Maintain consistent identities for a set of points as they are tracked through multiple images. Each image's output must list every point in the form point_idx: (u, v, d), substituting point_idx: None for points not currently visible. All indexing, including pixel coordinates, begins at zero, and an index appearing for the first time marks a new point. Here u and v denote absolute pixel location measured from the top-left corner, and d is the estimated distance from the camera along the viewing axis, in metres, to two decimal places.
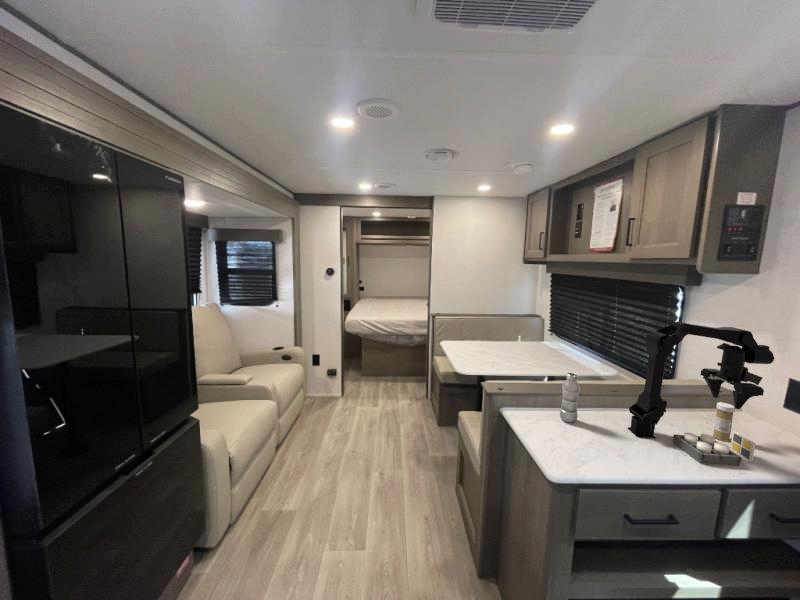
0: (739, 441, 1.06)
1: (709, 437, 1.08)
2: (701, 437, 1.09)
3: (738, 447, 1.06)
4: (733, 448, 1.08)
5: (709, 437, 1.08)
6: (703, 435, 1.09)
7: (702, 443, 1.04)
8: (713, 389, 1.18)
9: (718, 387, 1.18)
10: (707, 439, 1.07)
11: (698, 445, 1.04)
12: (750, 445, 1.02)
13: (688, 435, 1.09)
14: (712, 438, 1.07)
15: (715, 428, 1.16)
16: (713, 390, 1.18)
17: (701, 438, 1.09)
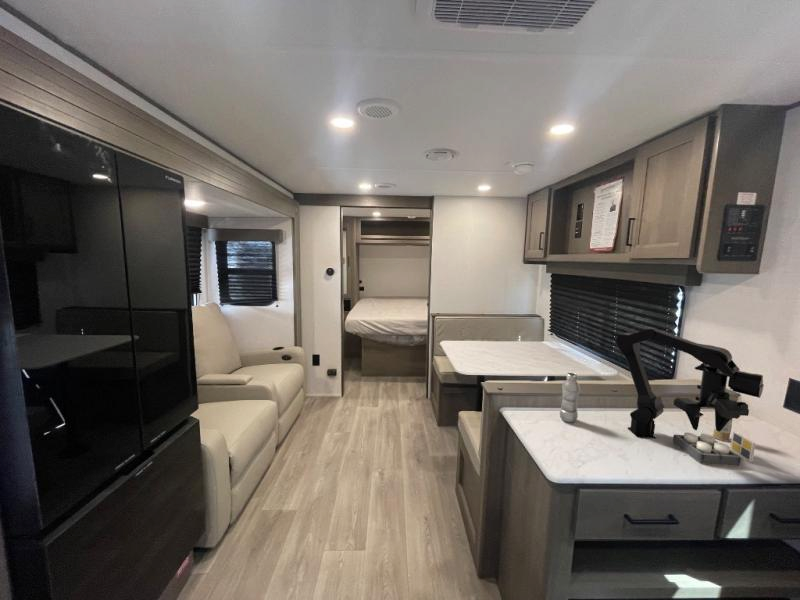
0: (739, 441, 1.06)
1: (709, 437, 1.08)
2: (701, 437, 1.09)
3: (738, 447, 1.06)
4: (733, 448, 1.08)
5: (709, 437, 1.08)
6: (703, 435, 1.09)
7: (702, 443, 1.04)
8: (718, 420, 1.03)
9: (722, 420, 1.02)
10: (707, 439, 1.07)
11: (698, 445, 1.04)
12: (750, 445, 1.02)
13: (688, 435, 1.09)
14: (712, 438, 1.07)
15: (715, 428, 1.16)
16: (717, 421, 1.04)
17: (701, 438, 1.09)
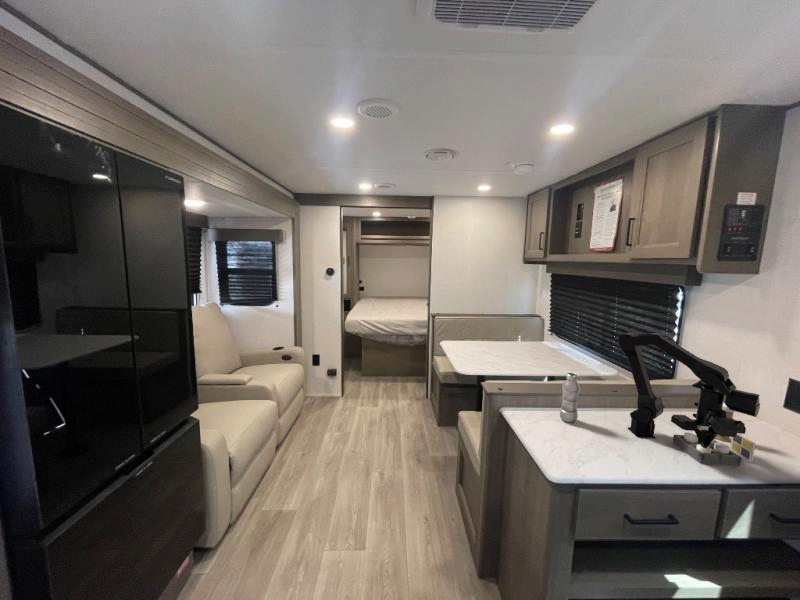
0: (739, 441, 1.06)
1: None
2: None
3: (738, 447, 1.06)
4: (733, 448, 1.08)
5: None
6: None
7: None
8: None
9: (708, 437, 1.03)
10: None
11: (698, 448, 1.04)
12: (750, 445, 1.02)
13: (688, 435, 1.09)
14: None
15: None
16: None
17: None
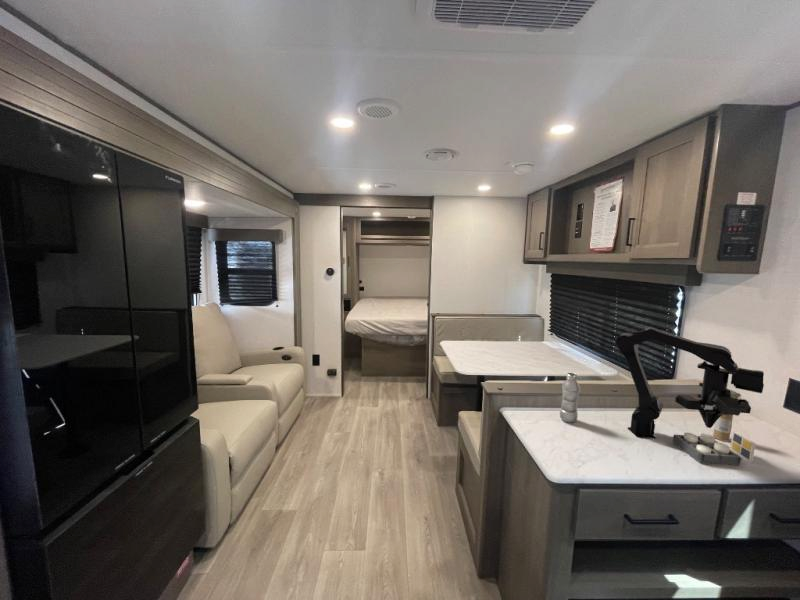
0: (739, 441, 1.06)
1: (709, 437, 1.08)
2: (701, 437, 1.09)
3: (738, 447, 1.06)
4: (733, 448, 1.08)
5: (709, 437, 1.08)
6: (703, 435, 1.09)
7: (702, 446, 1.05)
8: None
9: (712, 416, 1.04)
10: (707, 439, 1.07)
11: (698, 448, 1.04)
12: (750, 445, 1.02)
13: (688, 435, 1.09)
14: (712, 438, 1.07)
15: (715, 428, 1.16)
16: None
17: (701, 438, 1.09)
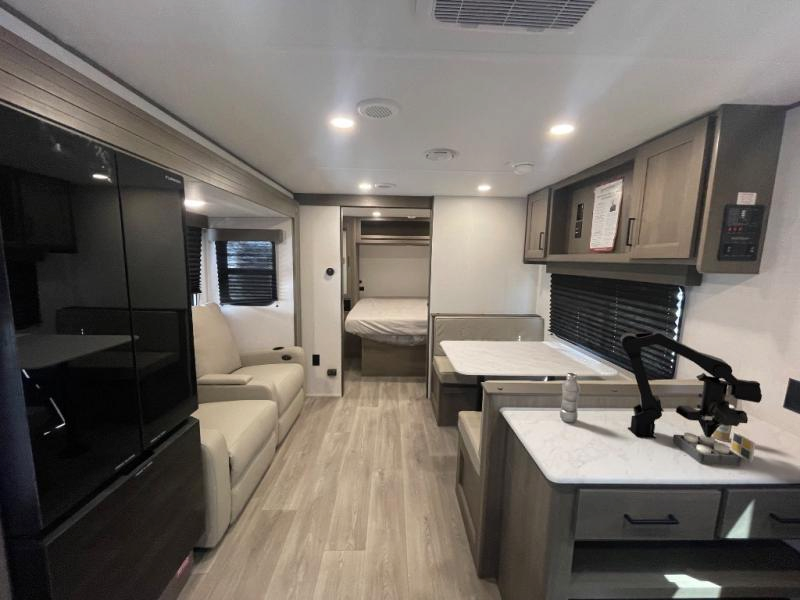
0: (739, 441, 1.06)
1: None
2: (701, 437, 1.09)
3: (738, 447, 1.06)
4: (733, 448, 1.08)
5: (709, 438, 1.08)
6: (703, 435, 1.09)
7: (702, 446, 1.05)
8: None
9: (711, 426, 1.08)
10: (707, 439, 1.07)
11: (698, 448, 1.04)
12: (750, 445, 1.02)
13: (688, 435, 1.09)
14: (712, 438, 1.07)
15: None
16: None
17: (701, 438, 1.09)
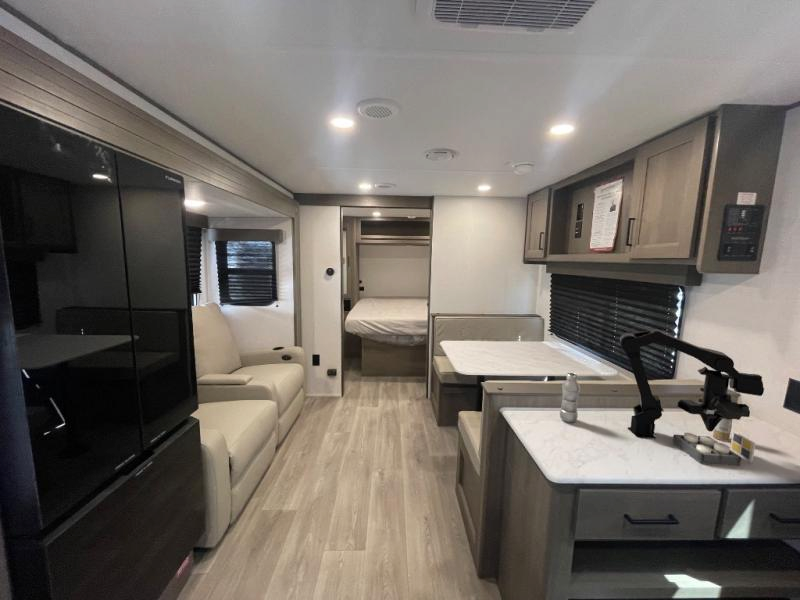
0: (739, 441, 1.06)
1: (709, 440, 1.08)
2: (701, 440, 1.09)
3: (738, 447, 1.06)
4: (733, 448, 1.08)
5: (708, 441, 1.08)
6: (703, 438, 1.09)
7: (702, 446, 1.05)
8: None
9: (713, 420, 1.07)
10: (707, 442, 1.08)
11: (698, 448, 1.04)
12: (750, 445, 1.02)
13: (688, 435, 1.09)
14: (711, 441, 1.08)
15: (715, 428, 1.16)
16: None
17: (701, 441, 1.09)
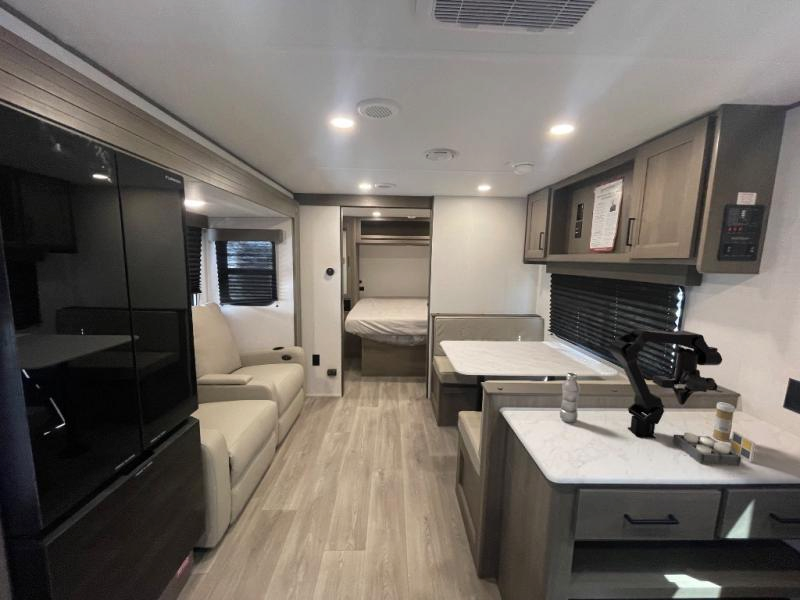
0: (739, 441, 1.06)
1: (709, 440, 1.08)
2: (701, 440, 1.09)
3: (738, 447, 1.06)
4: (733, 448, 1.08)
5: (708, 441, 1.08)
6: (703, 438, 1.09)
7: (702, 446, 1.05)
8: None
9: (684, 394, 1.17)
10: (707, 442, 1.08)
11: (698, 448, 1.04)
12: (750, 445, 1.02)
13: (688, 435, 1.09)
14: (711, 441, 1.08)
15: (715, 428, 1.16)
16: None
17: (701, 441, 1.09)
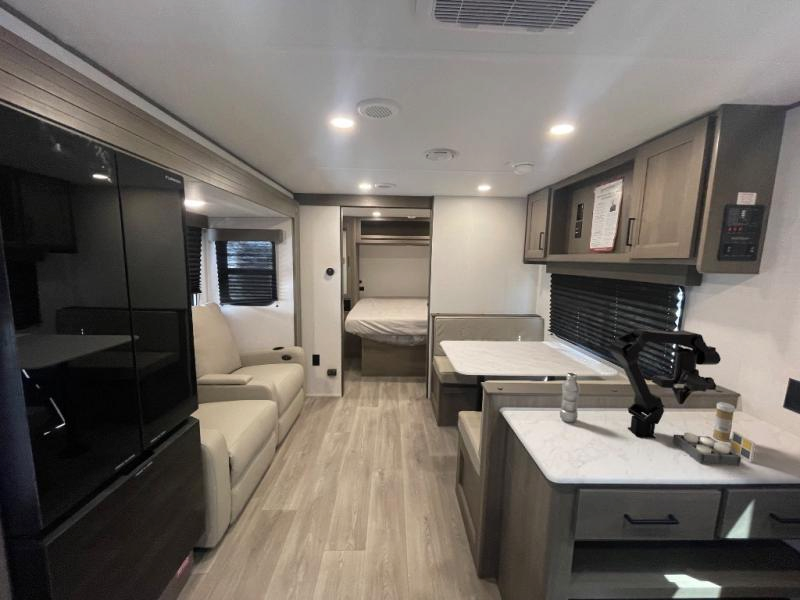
0: (739, 441, 1.06)
1: (709, 440, 1.08)
2: (701, 440, 1.09)
3: (738, 447, 1.06)
4: (733, 448, 1.08)
5: (708, 441, 1.08)
6: (703, 438, 1.09)
7: (702, 446, 1.05)
8: None
9: (683, 394, 1.17)
10: (707, 442, 1.08)
11: (698, 448, 1.04)
12: (750, 445, 1.02)
13: (688, 435, 1.09)
14: (711, 441, 1.08)
15: (715, 428, 1.16)
16: None
17: (701, 441, 1.09)
